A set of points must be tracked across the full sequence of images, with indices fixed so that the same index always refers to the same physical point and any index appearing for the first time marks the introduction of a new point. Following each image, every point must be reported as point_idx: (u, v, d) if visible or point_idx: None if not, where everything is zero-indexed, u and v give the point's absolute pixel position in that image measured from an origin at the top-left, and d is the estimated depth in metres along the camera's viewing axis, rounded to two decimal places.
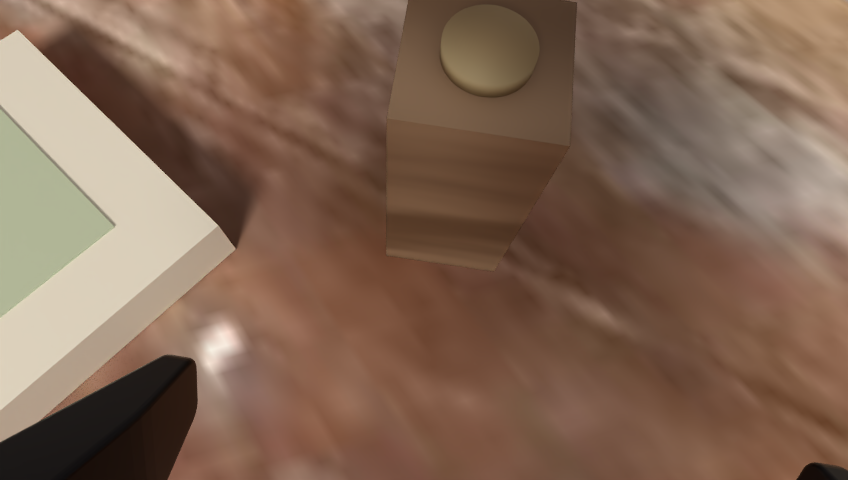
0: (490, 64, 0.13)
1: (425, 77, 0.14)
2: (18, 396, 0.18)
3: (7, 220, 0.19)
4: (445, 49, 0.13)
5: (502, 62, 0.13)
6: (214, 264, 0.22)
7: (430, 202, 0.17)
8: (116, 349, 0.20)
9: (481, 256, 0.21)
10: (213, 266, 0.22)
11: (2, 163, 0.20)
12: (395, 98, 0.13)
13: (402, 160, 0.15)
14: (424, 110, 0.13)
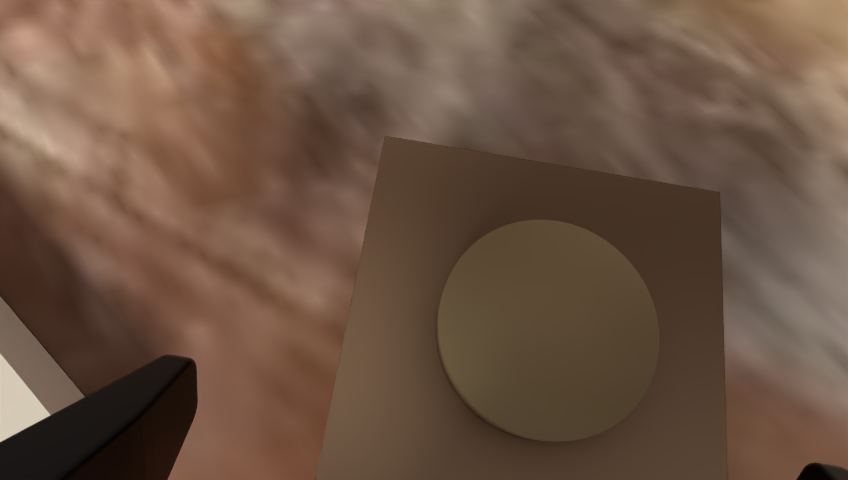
0: (550, 381, 0.06)
1: (403, 388, 0.06)
2: None
3: None
4: (448, 343, 0.06)
5: (577, 374, 0.06)
6: None
7: None
8: None
9: None
10: None
11: None
12: (332, 449, 0.06)
13: None
14: None
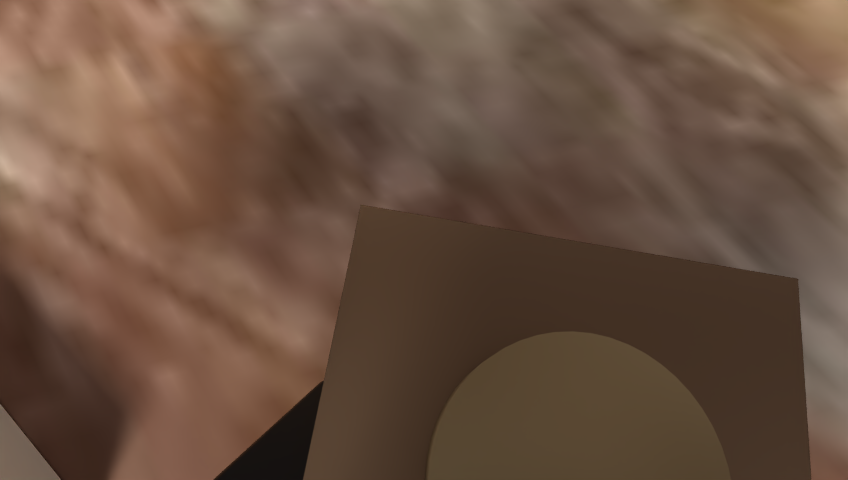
0: None
1: None
2: None
3: None
4: None
5: None
6: None
7: None
8: None
9: None
10: None
11: None
12: None
13: None
14: None
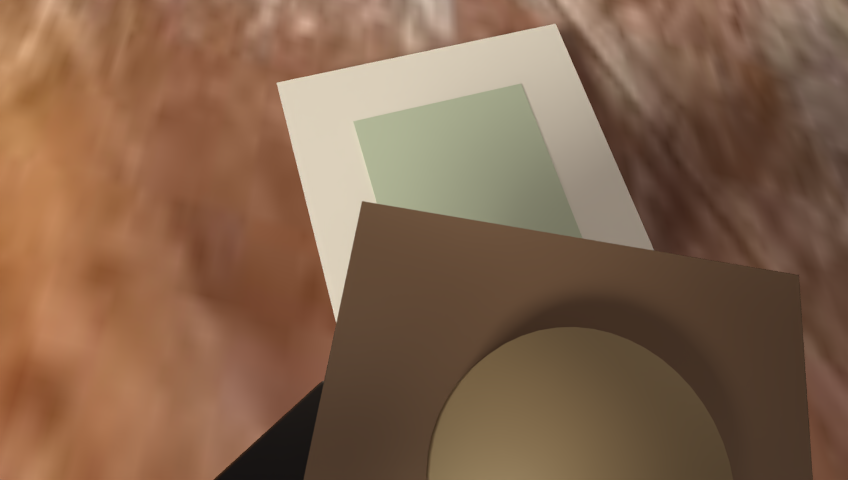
0: None
1: None
2: None
3: (500, 191, 0.21)
4: None
5: None
6: None
7: None
8: None
9: None
10: None
11: (510, 137, 0.22)
12: None
13: None
14: None
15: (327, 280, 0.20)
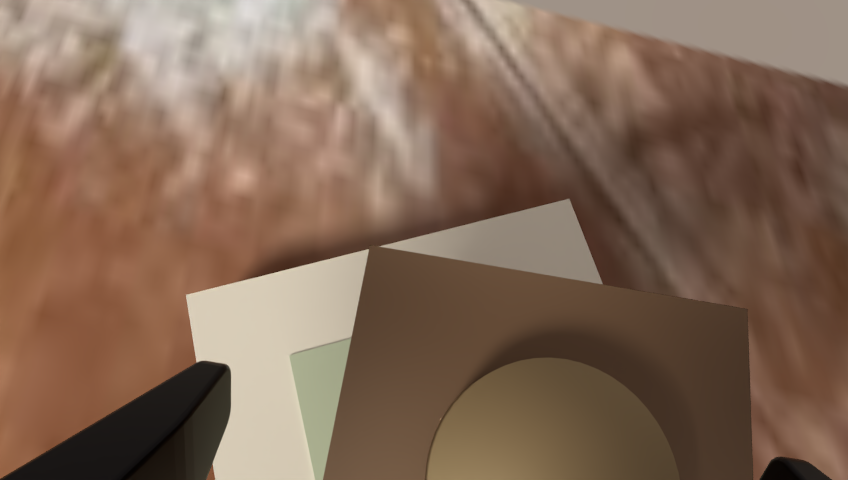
0: None
1: None
2: None
3: None
4: None
5: None
6: None
7: None
8: None
9: None
10: None
11: None
12: None
13: None
14: None
15: None
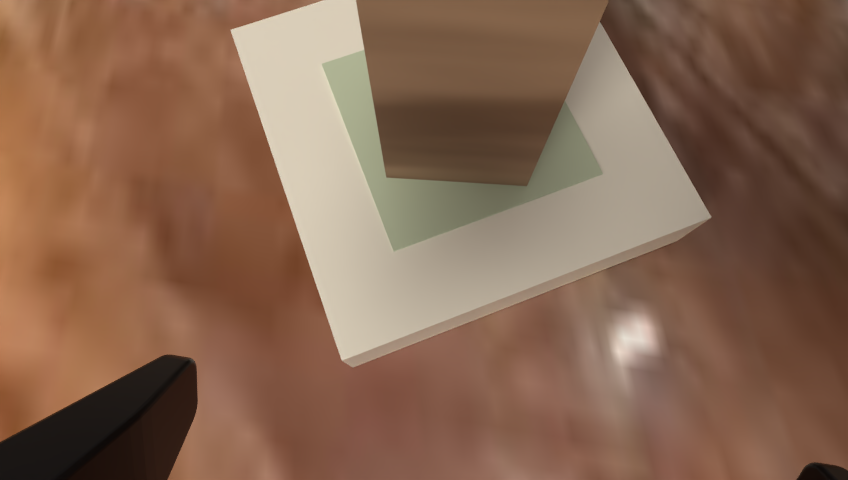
0: None
1: None
2: (471, 310, 0.16)
3: None
4: None
5: None
6: (654, 249, 0.19)
7: (431, 76, 0.12)
8: (534, 295, 0.19)
9: (509, 163, 0.16)
10: (651, 250, 0.19)
11: None
12: None
13: None
14: None
15: (306, 247, 0.17)
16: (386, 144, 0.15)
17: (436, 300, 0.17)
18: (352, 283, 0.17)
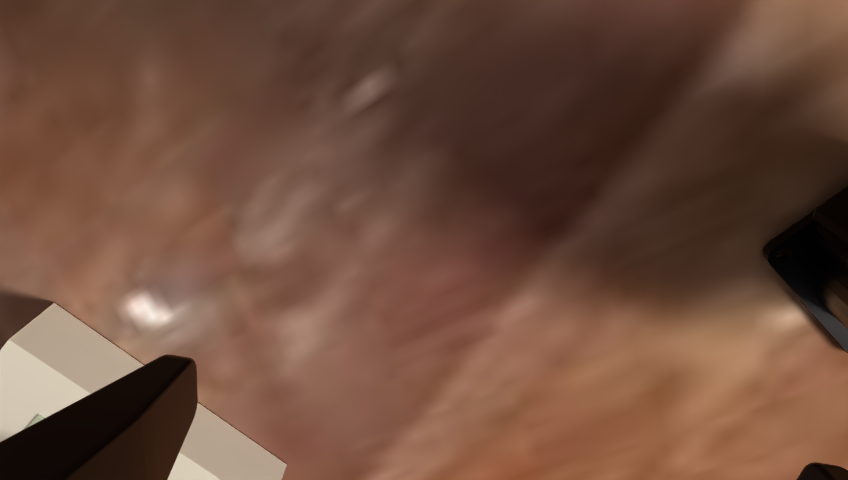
0: None
1: None
2: (190, 458, 0.22)
3: None
4: None
5: None
6: (72, 321, 0.23)
7: None
8: None
9: None
10: (75, 321, 0.23)
11: None
12: None
13: None
14: None
15: None
16: None
17: (198, 478, 0.23)
18: None
